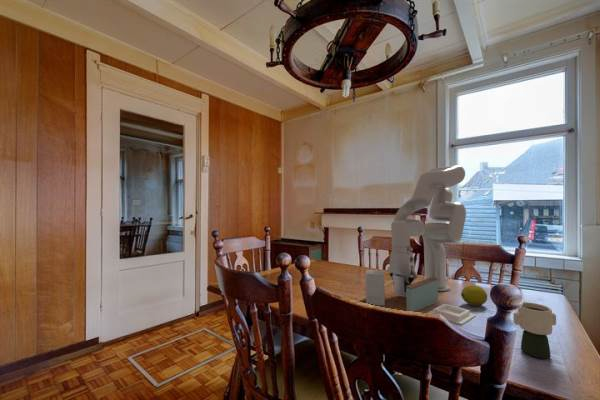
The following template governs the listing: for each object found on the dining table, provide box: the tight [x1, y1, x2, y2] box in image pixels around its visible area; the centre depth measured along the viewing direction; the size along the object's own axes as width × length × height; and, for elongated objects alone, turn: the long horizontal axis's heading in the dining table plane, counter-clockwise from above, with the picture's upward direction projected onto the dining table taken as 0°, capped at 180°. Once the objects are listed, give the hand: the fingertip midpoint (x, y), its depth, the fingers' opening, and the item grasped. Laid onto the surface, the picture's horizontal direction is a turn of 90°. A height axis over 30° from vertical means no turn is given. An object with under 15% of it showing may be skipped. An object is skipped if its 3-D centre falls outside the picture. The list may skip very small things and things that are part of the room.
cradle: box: [427, 303, 477, 326], centre depth 101 cm, size 12×12×2 cm
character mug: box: [513, 301, 557, 359], centre depth 75 cm, size 11×7×13 cm, turn 87°
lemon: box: [460, 284, 488, 307], centre depth 111 cm, size 11×8×8 cm
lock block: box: [393, 274, 407, 297], centre depth 120 cm, size 5×5×8 cm
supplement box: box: [365, 269, 386, 306], centre depth 115 cm, size 7×7×13 cm
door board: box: [406, 277, 439, 313], centre depth 110 cm, size 20×2×10 cm, turn 127°
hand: (402, 289), depth 120 cm, fingers closed on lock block, 5 cm apart
